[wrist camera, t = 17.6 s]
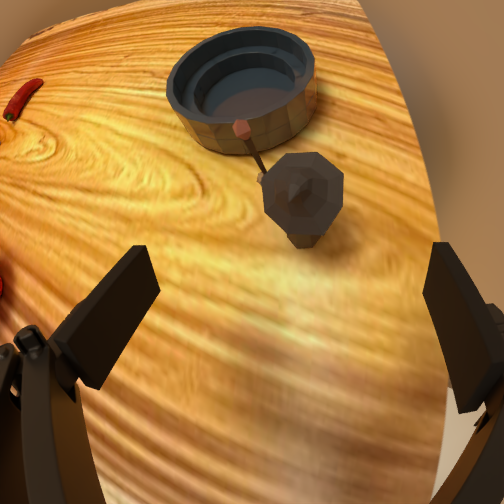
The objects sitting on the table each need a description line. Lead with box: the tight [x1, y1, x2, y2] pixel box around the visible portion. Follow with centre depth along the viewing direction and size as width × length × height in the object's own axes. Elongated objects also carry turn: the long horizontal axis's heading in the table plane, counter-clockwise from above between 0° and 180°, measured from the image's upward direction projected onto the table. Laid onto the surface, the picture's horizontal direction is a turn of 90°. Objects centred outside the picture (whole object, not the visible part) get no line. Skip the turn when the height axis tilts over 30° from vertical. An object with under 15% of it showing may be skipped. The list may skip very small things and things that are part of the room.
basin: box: [166, 26, 317, 154], centre depth 30 cm, size 16×16×6 cm
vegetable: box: [3, 78, 43, 122], centre depth 46 cm, size 4×5×12 cm
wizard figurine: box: [232, 119, 344, 248], centre depth 22 cm, size 8×6×12 cm
